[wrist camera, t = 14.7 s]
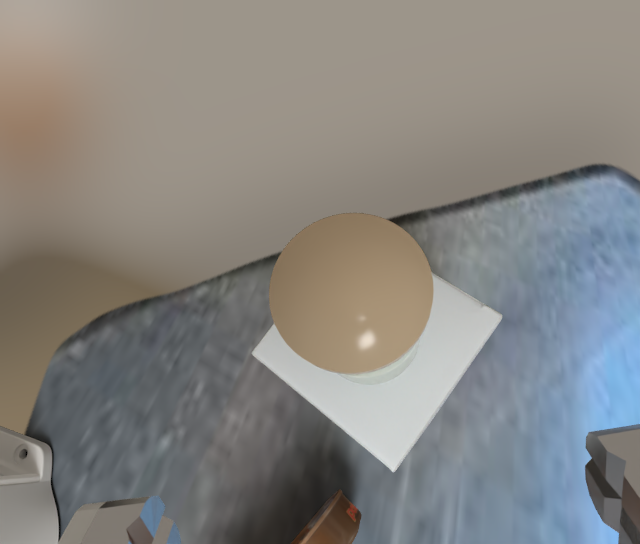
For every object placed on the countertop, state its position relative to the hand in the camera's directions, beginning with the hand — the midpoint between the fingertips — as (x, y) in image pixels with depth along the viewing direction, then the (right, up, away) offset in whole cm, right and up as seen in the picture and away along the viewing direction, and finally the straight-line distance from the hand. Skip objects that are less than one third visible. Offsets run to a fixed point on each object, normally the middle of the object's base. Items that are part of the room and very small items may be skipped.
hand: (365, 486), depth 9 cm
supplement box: (+5, -4, +29) cm, 30 cm away
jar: (+1, +1, +14) cm, 14 cm away
